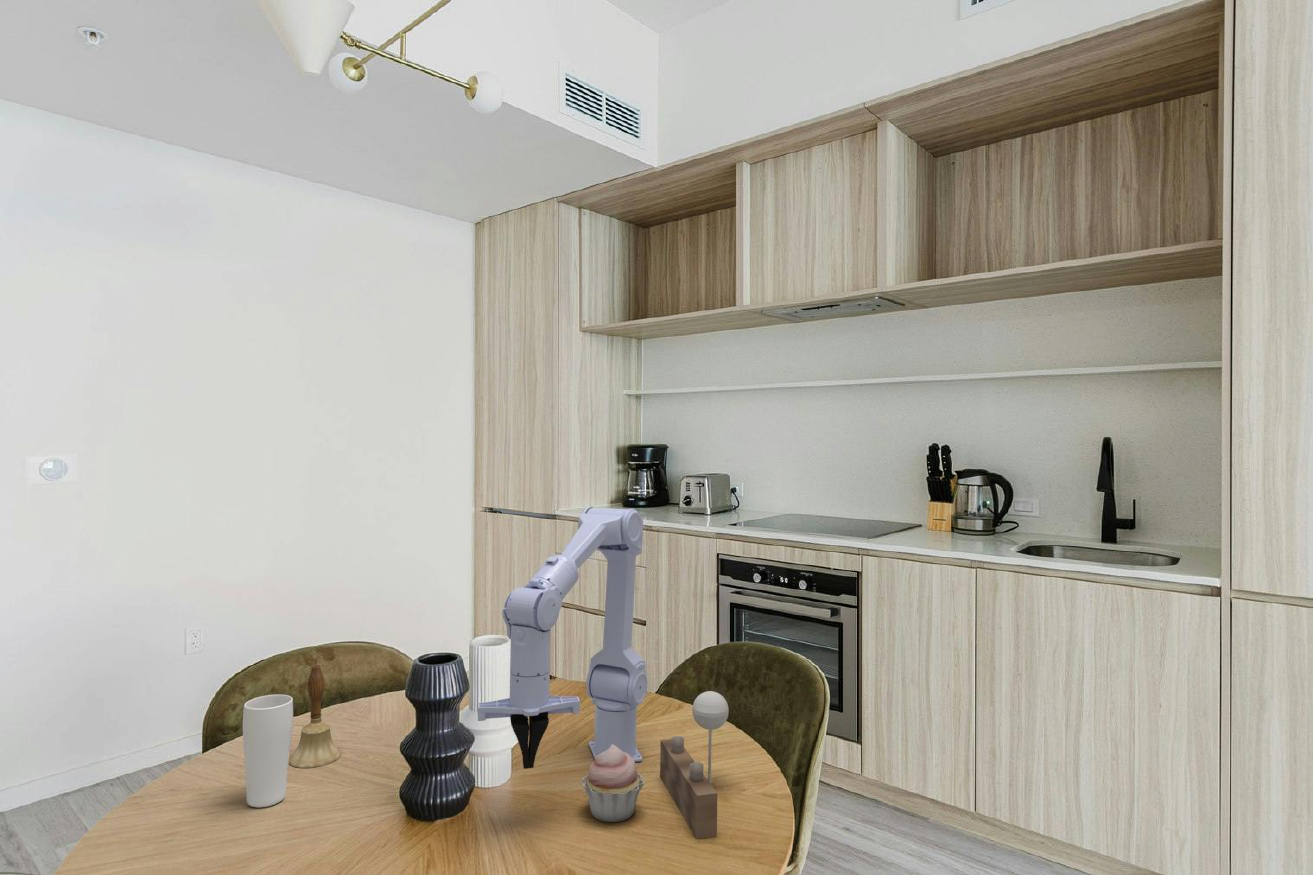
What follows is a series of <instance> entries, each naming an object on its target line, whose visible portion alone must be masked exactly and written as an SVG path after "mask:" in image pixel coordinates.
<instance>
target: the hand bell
mask: <svg viewBox="0 0 1313 875" xmlns="http://www.w3.org/2000/svg"><path fill="white" fill-rule="evenodd" d="M324 677H325V676H324V674H323V672H322V669H321V665H320V664H314V665H312V666H311V671H310V674H309V676H308V680H307V693H308V696H309V700H310V722H309V723H308V724H307V725H306V724H305V726H303V727H302V729H301V732H300V733H301V734H300V739H299V742H298V745H297V747H296V749H295V751H294V752H292V754H291V755H289V764H288V765H290V766H291V767H294V768H297V769H313V768H319V767H324V766H327V765H330V764H332V763H335V761H337V760H339V759H340V758H341V755H342V751H341V749H340V748H339V747H337V746H336V744H335V743H334V741H333V738H332V735H331V733H332V732H331V727H330V726H331V725H330V724H329V723H327V722H324V721H322V720H323V719H322V706H321V705H322V697H323V695H324V690H325V689H324V688H325V678H324Z"/></svg>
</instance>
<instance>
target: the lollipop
mask: <svg viewBox="0 0 1313 875" xmlns="http://www.w3.org/2000/svg"><path fill="white" fill-rule="evenodd" d="M691 709H692V710H691V711H692V716H693V719H694V721H695V722H696V724H697V725H698V726H700V728H702V729H704V730H708V757H707V758H708V765H707V766H708V767H707V772H708V773H707V774H708V775H707V780H708V781H709V782H710V784H711V785H712V736H713V734H712V733H713V732H712V731H714V730H717V729H720V728H721V727H723V725H724V724H726V722H727V720H728V717H729V712H730V710H729V709H730V708H729V705H728V702H727V700H726V699H725V697H724V696H723V695H722V694H720V693H719V692H716V691H714V690H713V691H712V690H708V691H704V692H701V693H700V694H699V695H698V696H697V697H695V699H694V701H693V705H692V708H691Z"/></svg>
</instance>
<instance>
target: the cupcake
mask: <svg viewBox="0 0 1313 875" xmlns="http://www.w3.org/2000/svg"><path fill="white" fill-rule="evenodd" d="M642 777H643V775H642V774H641V773H638V770H637V764H636V762H635V761H634V759H633V758H632V757H631V756H630V755H629V754H627V753H625V752H622V751H621V750H620V749H619V748H618V747H616V746H615V745H613V744H612V745H611V747H610V748H609V749H608V750H606V751H605V752H602V753H601V754H599V755H598V756H596V759H595V758H594V761H593V762H592V763H591V764H590V765H589V767H588V774H587V775H585V776H583V777H582V778H581V780H582V782H583V785H582V786H583V788H584V791H585V792H586V795H587V798H588V802H589V807H590V808H589V809H590V812H591V815H592V816H593V817H594V818H595V819H597V820H598V821H601V822H605V823H619V822H622V821H625V820H627V819H630V818H631V817H632V816H633V813H634V812H635V807H636V804H637V801H638V796H639V794H640V791H641V790H642V788H643V786H644V785H645V780H643V779H642Z"/></svg>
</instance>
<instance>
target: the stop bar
mask: <svg viewBox="0 0 1313 875" xmlns="http://www.w3.org/2000/svg"><path fill="white" fill-rule="evenodd" d="M659 747H660V751H659V753H660V754H659V757H660V758H659V761H660V762H659V777H660V778H661V781H662V783H663V784H664V786H665V787H666V790H667V791H668V793H669V795H670V796H671V799H673V801H674V803H675V804H676V806H677V808H678V810H679V812H680V814H681V815H682V817H683V818H684V820H685V822H686V823H687V825H688V827H689V829H690V830H691V832H692V834H693V836H694V837H695V839H696V840H698V839H699V840H700V839H705V838H706V839H707V838H714V837H718V832H717V831H718V792H717V791H716V790H715V788H714V787H713V785H712V783H711V784H710V782H709V781H708V777H706V775H705V774H704V763H702V762H700V761H695V760H694V759H693V757H692V756H691V754H690V753H689V751H688V750H687V749H686V747H685V738H684V737H683V736H680V735H677V736H672V737H671V738H670V739H669V738H668V739H660V746H659Z"/></svg>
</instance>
